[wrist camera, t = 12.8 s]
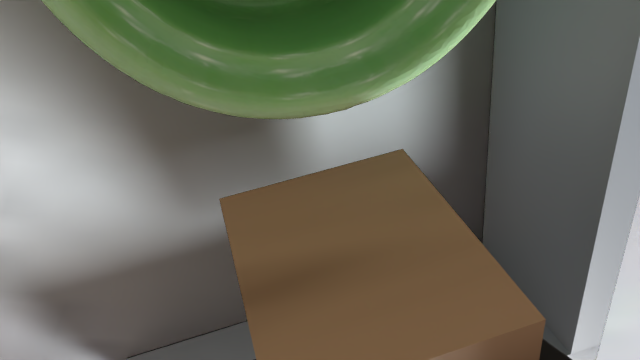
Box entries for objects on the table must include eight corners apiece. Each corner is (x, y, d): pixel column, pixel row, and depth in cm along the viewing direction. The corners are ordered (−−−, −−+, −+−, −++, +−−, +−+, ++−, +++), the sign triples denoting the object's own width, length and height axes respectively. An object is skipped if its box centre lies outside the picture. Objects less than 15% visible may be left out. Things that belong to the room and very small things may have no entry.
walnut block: (411, 331, 15) (513, 515, 11) (272, 377, 14) (325, 591, 10) (402, 149, 12) (546, 319, 8) (219, 198, 11) (269, 413, 7)
